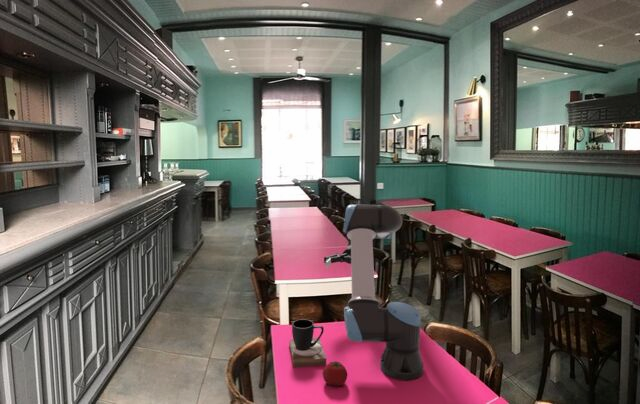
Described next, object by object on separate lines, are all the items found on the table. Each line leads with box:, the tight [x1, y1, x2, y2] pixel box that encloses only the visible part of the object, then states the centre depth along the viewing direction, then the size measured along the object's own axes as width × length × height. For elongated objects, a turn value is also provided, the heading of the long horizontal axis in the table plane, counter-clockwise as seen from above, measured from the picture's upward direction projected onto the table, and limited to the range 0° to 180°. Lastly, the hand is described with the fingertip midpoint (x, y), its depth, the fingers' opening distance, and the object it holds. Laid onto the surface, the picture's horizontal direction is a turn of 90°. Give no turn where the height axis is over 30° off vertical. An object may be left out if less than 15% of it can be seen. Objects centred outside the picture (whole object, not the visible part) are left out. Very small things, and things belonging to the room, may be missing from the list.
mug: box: [291, 318, 325, 351], centre depth 148 cm, size 8×12×10 cm
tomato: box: [322, 360, 348, 387], centre depth 130 cm, size 8×8×7 cm
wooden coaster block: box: [289, 337, 327, 368], centre depth 149 cm, size 16×12×3 cm
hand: (341, 266), depth 170 cm, fingers open, 13 cm apart
